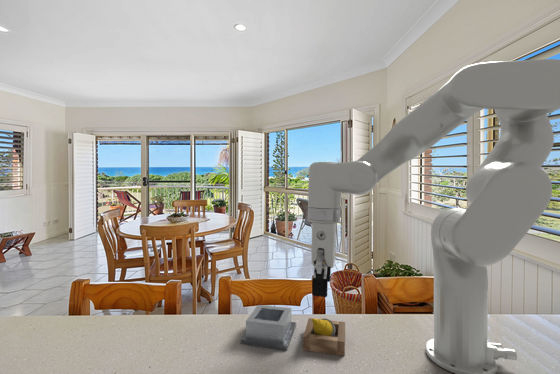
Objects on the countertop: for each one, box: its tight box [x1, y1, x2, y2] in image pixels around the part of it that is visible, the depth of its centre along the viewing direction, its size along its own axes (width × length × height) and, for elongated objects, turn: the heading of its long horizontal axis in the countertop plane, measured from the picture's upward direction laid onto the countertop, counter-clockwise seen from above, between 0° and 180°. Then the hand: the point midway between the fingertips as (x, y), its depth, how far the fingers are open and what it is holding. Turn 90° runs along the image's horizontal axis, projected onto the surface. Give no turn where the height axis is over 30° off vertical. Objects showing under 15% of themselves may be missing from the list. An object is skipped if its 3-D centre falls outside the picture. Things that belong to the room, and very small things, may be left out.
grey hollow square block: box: [239, 304, 297, 351], centre depth 69 cm, size 11×11×5 cm
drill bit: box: [312, 317, 336, 337], centre depth 66 cm, size 5×5×10 cm
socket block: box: [302, 317, 346, 357], centre depth 66 cm, size 9×9×3 cm
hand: (321, 287), depth 66 cm, fingers open, 9 cm apart
